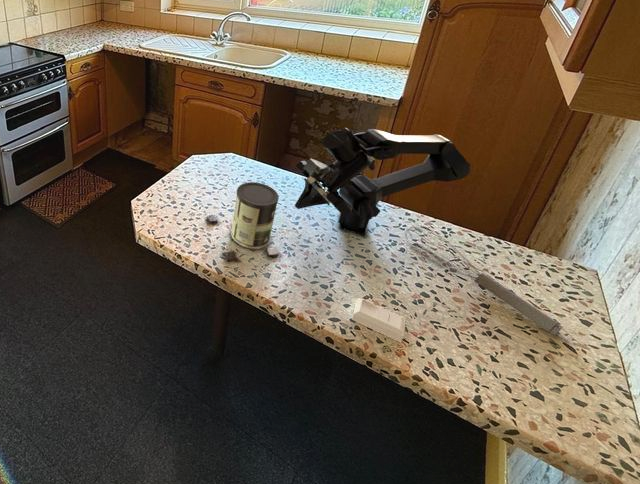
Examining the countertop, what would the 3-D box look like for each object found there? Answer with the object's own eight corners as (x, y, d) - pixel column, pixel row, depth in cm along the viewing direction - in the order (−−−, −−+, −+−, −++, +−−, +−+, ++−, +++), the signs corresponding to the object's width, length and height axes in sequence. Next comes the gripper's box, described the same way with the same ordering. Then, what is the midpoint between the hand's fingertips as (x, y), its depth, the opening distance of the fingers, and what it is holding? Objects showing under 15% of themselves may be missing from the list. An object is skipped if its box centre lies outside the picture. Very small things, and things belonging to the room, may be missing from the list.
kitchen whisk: (563, 350, 79) (579, 329, 76) (396, 243, 106) (403, 224, 103) (577, 338, 81) (593, 317, 79) (410, 236, 108) (417, 217, 106)
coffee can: (267, 226, 112) (276, 184, 105) (271, 252, 103) (281, 208, 96) (230, 220, 114) (236, 179, 107) (230, 245, 105) (237, 202, 98)
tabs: (251, 214, 116) (251, 212, 116) (278, 256, 101) (278, 254, 101) (206, 218, 115) (207, 215, 114) (227, 261, 100) (227, 259, 99)
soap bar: (400, 342, 80) (404, 334, 79) (351, 319, 85) (354, 311, 84) (402, 325, 84) (406, 316, 83) (355, 303, 89) (358, 295, 87)
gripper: (308, 134, 107) (263, 171, 111) (352, 172, 91) (298, 214, 94) (329, 157, 112) (285, 192, 115) (374, 197, 95) (321, 237, 99)
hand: (296, 207), depth 106 cm, fingers closed
